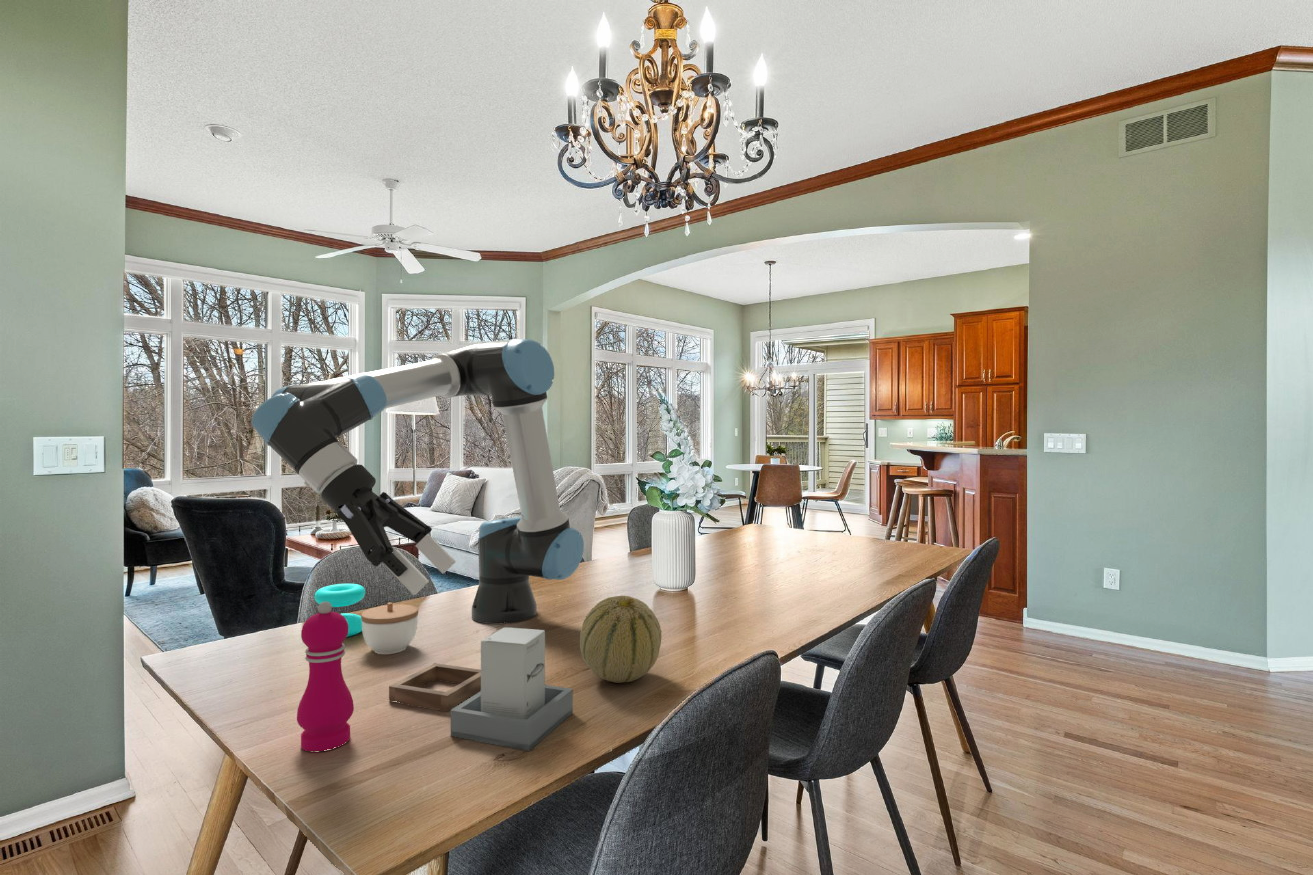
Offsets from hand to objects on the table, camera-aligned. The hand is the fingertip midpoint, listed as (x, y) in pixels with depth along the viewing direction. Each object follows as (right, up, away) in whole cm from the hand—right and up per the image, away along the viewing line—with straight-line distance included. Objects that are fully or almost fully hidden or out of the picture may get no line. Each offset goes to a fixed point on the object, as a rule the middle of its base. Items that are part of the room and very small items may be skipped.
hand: (436, 577), depth 103 cm
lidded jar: (-20, -21, +31) cm, 43 cm away
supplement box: (+13, -21, -3) cm, 24 cm away
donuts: (-35, -21, +42) cm, 59 cm away
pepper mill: (-13, -22, -9) cm, 27 cm away
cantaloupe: (+28, -21, +15) cm, 38 cm away
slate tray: (+13, -21, -3) cm, 25 cm away
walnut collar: (-2, -21, +9) cm, 23 cm away
